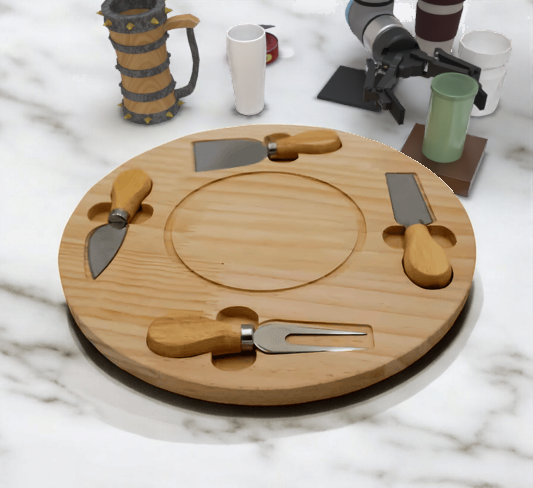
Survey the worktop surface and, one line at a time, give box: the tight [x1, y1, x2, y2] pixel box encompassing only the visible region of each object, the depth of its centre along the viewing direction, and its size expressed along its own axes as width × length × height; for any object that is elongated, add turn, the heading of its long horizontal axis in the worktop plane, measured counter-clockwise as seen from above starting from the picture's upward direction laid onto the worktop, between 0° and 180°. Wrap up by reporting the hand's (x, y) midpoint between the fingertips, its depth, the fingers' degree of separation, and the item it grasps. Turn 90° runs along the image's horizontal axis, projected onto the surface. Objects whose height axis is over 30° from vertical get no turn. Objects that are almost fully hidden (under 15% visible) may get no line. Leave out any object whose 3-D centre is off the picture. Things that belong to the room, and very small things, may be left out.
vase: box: [457, 29, 514, 117], centre depth 114 cm, size 9×9×12 cm
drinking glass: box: [225, 22, 267, 116], centre depth 115 cm, size 7×7×15 cm
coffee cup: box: [414, 0, 467, 55], centre depth 127 cm, size 10×10×15 cm
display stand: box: [399, 122, 489, 198], centre depth 105 cm, size 12×12×3 cm
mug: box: [95, 0, 201, 125], centre depth 114 cm, size 13×17×20 cm
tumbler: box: [422, 73, 479, 163], centre depth 100 cm, size 7×7×12 cm
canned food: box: [258, 24, 280, 67], centre depth 132 cm, size 11×10×10 cm
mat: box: [316, 64, 400, 113], centre depth 123 cm, size 12×12×1 cm
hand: (443, 110), depth 101 cm, fingers open, 13 cm apart
